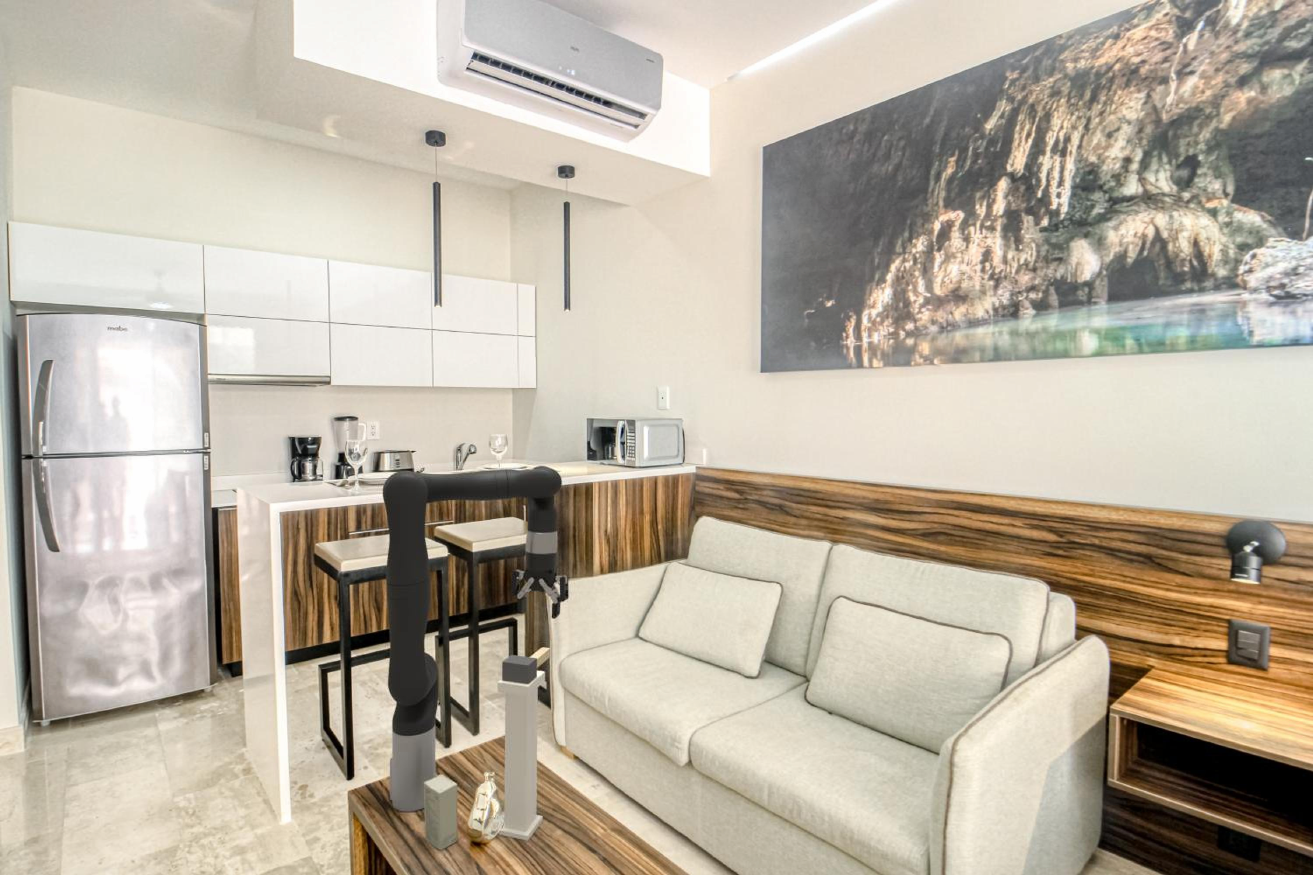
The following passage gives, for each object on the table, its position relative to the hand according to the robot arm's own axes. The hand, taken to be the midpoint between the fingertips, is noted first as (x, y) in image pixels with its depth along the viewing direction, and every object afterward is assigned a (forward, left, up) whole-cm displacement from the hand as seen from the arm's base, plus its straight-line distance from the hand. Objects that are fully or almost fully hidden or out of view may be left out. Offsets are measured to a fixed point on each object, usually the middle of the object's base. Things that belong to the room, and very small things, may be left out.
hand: (538, 615), depth 161 cm
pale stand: (+11, -17, -40) cm, 45 cm away
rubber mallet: (+10, -13, -7) cm, 17 cm away
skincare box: (0, -29, -40) cm, 49 cm away
